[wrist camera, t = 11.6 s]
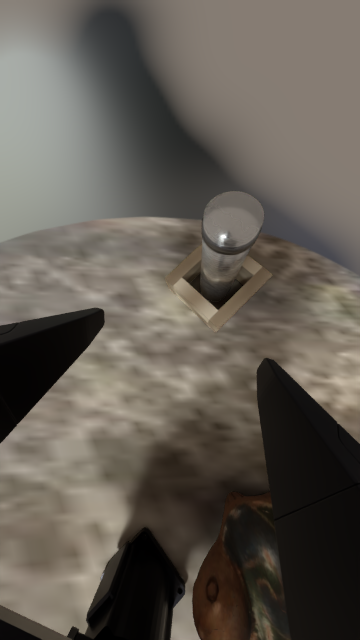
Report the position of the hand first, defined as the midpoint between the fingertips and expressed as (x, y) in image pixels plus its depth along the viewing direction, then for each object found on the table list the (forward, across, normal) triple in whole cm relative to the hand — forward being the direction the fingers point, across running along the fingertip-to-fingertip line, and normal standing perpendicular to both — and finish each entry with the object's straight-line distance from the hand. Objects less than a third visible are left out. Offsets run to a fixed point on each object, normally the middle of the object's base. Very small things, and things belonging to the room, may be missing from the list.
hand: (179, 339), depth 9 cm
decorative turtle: (0, -14, +20) cm, 24 cm away
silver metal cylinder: (+16, -2, +2) cm, 16 cm away
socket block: (+16, -2, +2) cm, 16 cm away
